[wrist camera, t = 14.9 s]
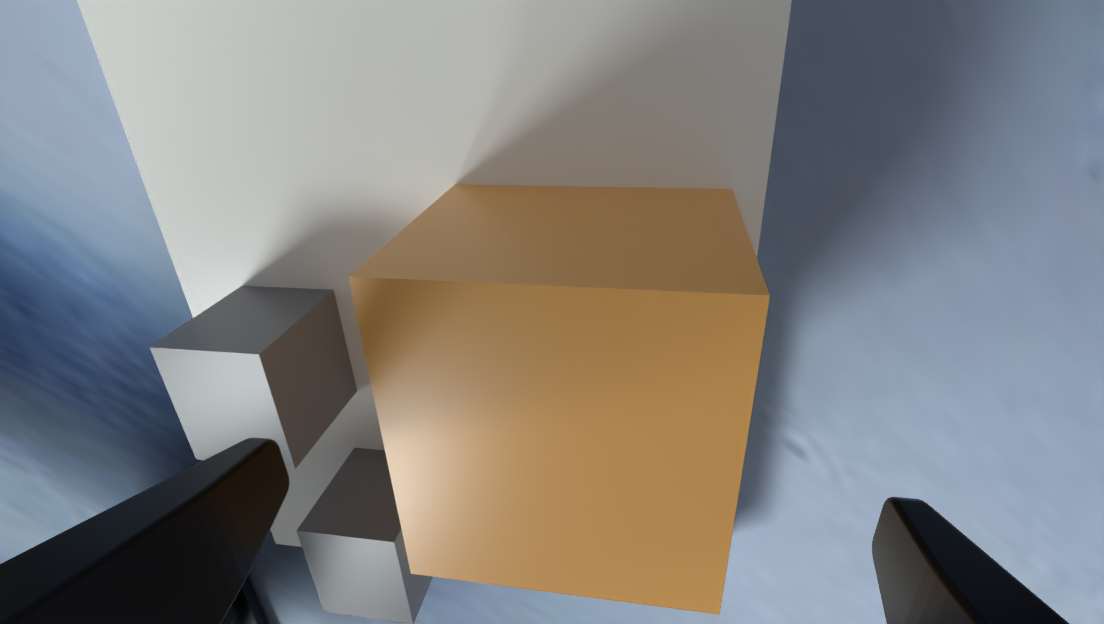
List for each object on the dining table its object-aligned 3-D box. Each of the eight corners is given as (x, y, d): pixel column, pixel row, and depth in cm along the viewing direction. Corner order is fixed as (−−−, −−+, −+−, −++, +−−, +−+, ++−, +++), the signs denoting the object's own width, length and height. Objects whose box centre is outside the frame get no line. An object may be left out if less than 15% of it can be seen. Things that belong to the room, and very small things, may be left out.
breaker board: (707, 542, 19) (719, 705, 14) (308, 498, 21) (214, 628, 17) (777, -38, 11) (848, -63, 7) (150, -5, 14) (-92, -9, 9)
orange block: (703, 436, 14) (719, 614, 10) (480, 417, 15) (411, 573, 11) (732, 189, 11) (769, 295, 7) (454, 184, 12) (348, 276, 8)
